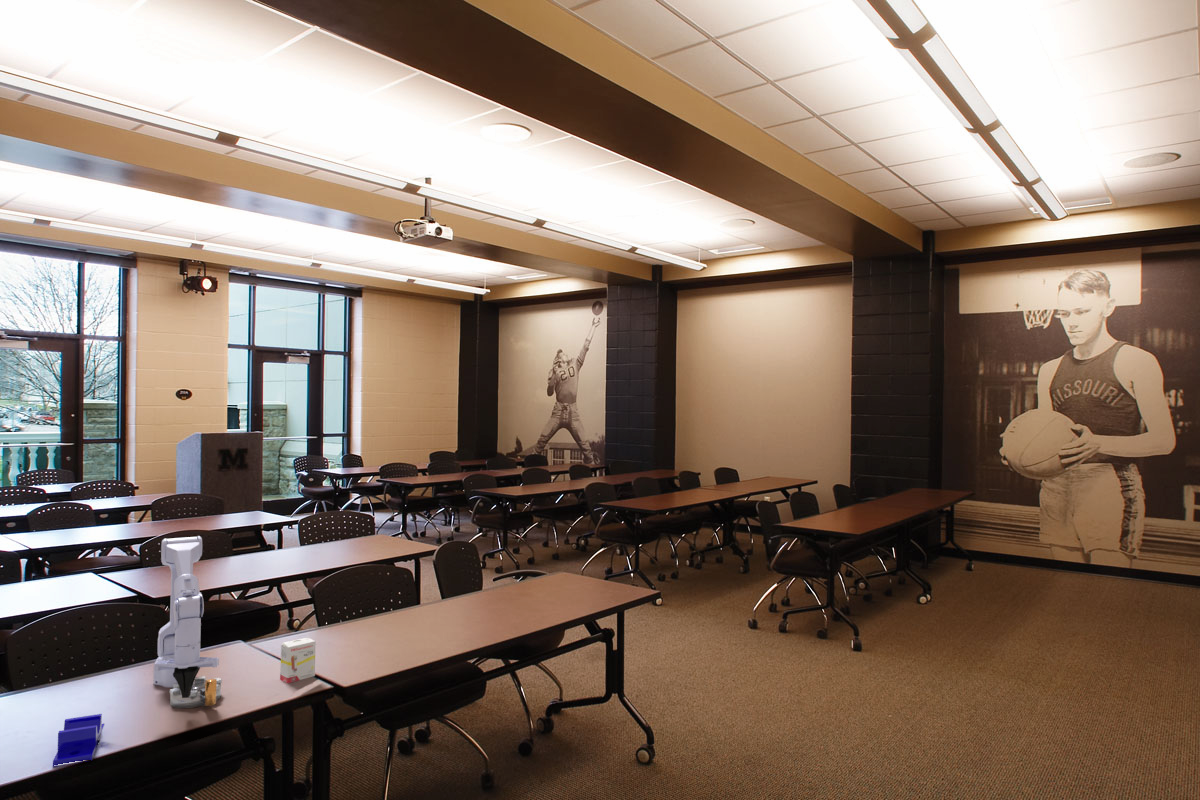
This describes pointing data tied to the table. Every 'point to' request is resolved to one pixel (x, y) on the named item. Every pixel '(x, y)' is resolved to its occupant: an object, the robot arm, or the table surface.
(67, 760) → the mounting bracket
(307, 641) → the ink box
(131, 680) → the table surface
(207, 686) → the grey toy battleship
